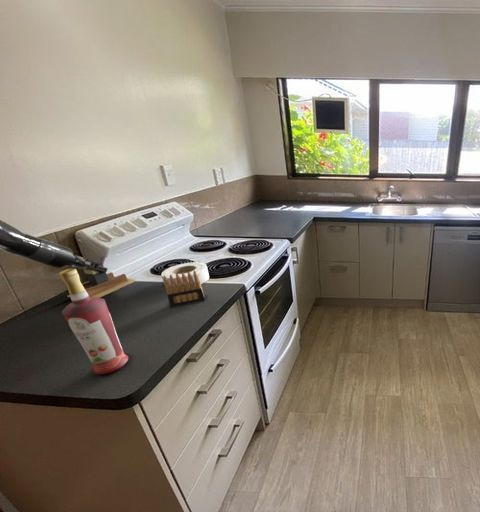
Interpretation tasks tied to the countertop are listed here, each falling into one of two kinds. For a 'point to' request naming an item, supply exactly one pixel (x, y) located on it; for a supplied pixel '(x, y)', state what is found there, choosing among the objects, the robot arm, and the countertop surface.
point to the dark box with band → (95, 275)
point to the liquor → (92, 326)
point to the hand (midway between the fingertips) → (100, 270)
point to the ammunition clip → (184, 290)
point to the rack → (106, 285)
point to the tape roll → (185, 268)
